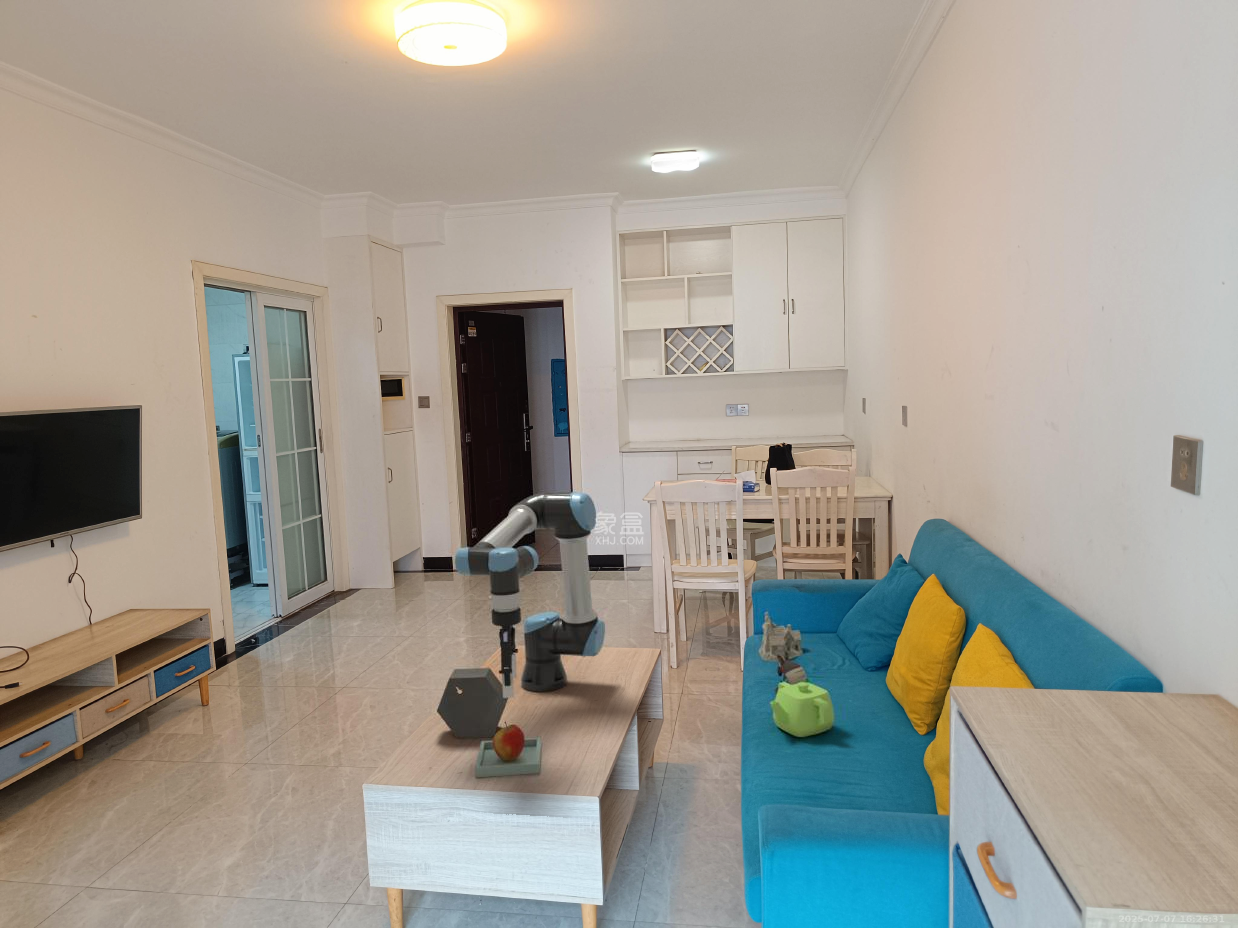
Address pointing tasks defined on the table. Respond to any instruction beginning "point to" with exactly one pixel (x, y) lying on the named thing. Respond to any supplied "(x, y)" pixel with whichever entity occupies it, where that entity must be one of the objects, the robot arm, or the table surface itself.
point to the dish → (523, 764)
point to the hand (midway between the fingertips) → (510, 687)
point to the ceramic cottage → (779, 641)
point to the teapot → (802, 709)
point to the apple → (509, 742)
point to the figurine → (791, 671)
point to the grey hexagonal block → (472, 703)
